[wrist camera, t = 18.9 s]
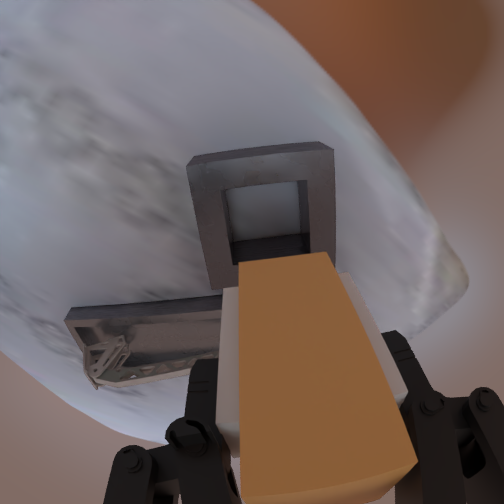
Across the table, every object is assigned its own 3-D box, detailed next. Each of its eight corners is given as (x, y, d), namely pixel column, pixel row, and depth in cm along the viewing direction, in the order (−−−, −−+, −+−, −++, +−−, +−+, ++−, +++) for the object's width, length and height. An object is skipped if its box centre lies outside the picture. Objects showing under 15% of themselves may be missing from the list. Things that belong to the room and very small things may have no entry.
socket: (215, 264, 27) (212, 289, 24) (194, 156, 23) (185, 166, 19) (323, 250, 27) (334, 273, 24) (319, 141, 22) (333, 149, 19)
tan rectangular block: (249, 327, 15) (259, 520, 7) (238, 262, 13) (241, 496, 5) (324, 317, 15) (378, 499, 6) (326, 251, 13) (418, 461, 5)
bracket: (82, 341, 28) (86, 411, 20) (255, 284, 36) (302, 334, 27) (94, 360, 30) (102, 429, 22) (257, 305, 37) (301, 355, 29)
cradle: (101, 360, 34) (96, 373, 32) (71, 307, 29) (63, 320, 27) (304, 347, 33) (307, 361, 31) (303, 284, 29) (307, 298, 27)
